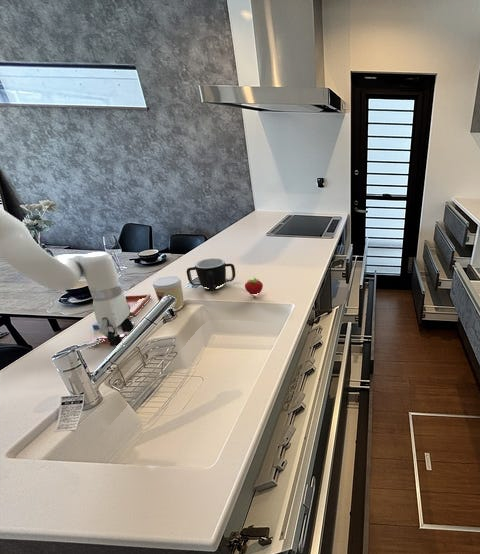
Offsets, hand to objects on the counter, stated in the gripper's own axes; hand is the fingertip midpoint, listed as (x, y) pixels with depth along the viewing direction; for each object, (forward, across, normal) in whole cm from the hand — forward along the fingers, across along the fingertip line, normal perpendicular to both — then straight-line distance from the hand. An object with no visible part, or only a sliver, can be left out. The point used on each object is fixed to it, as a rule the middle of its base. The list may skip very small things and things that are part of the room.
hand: (122, 337), depth 102 cm
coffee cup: (+1, -21, +8) cm, 23 cm away
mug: (+1, -39, +20) cm, 44 cm away
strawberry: (+1, -26, +39) cm, 47 cm away
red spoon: (+1, 0, -4) cm, 5 cm away
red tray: (+1, -23, -8) cm, 24 cm away
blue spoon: (+1, -9, -6) cm, 11 cm away
